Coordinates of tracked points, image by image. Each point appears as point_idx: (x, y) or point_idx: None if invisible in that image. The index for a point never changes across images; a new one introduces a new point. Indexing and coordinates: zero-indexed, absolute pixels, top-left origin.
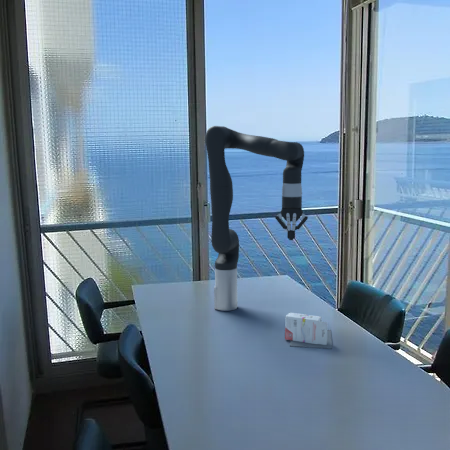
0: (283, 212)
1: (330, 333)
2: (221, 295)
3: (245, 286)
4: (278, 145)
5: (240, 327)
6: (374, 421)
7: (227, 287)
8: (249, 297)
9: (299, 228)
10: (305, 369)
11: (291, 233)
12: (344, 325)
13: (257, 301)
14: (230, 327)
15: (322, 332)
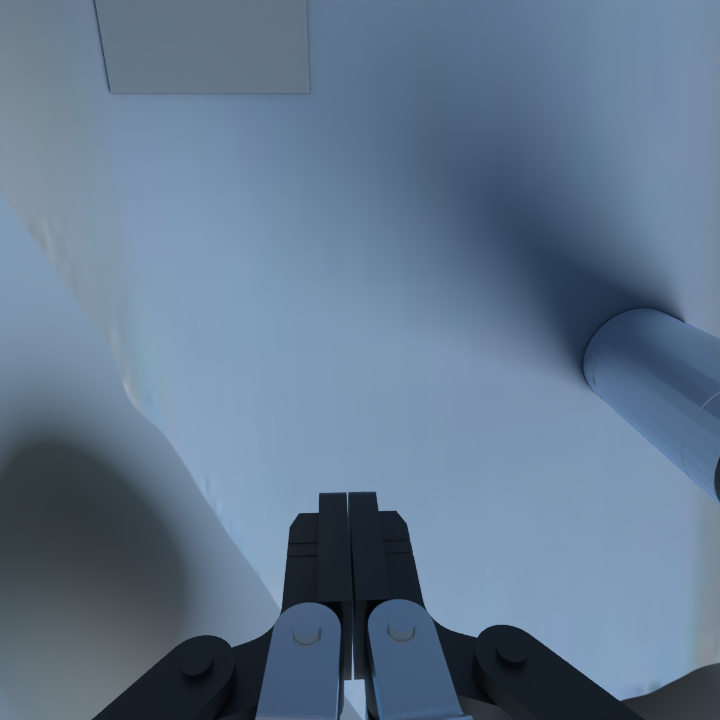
0: None
1: (103, 32)
2: (705, 333)
3: (546, 629)
4: None
5: (568, 75)
6: None
7: (704, 351)
8: (528, 504)
9: (170, 654)
10: None
11: (345, 564)
12: (58, 190)
13: (493, 460)
14: (618, 67)
15: (147, 43)
